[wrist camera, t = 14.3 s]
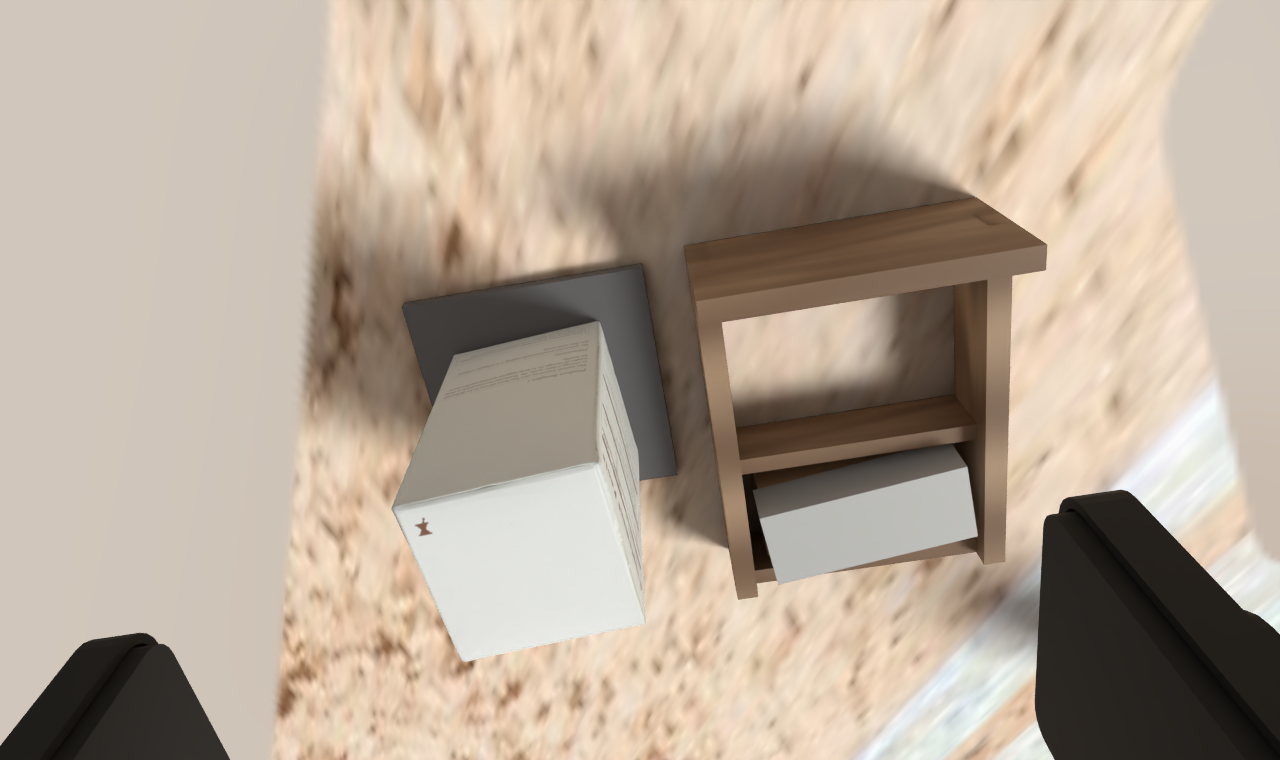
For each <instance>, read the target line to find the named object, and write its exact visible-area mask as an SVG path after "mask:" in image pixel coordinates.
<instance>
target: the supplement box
mask: <svg viewBox="0 0 1280 760" xmlns="http://www.w3.org/2000/svg"><path fill="white" fill-rule="evenodd" d="M392 511H393V513H394V515H395V517H396V519H397V521H398V523H399V525H400V527H401V530H402V532H403V534H404V536H405V538H406V540H407V542H408V544H409V546H410V548H411V550H412V553H413V555H414V557H415V559H416V562H417V564H418V566H419V568H420V570H421V573H422V575H423V577H424V580H425V582H426V584H427V586H428V588H429V590H430V593H431V595H432V597H433V599H434V602H435V604H436V606H437V608H438V611H439V613H440V615H441V617H442V619H443V622H444V624H445V626H446V628H447V630H448V633H449V635H450V637H451V639H452V642H453V644H454V646H455V648H456V650H457V652H458V654H459V656H460V658H461V660H462V661H464V662H466V661H471V660H475V659H480V658H485V657H489V656H494V655H499V654H503V653H508V652H512V651H517V650H522V649H527V648H532V647H537V646H542V645H546V644H551V643H556V642H561V641H566V640H570V639H575V638H580V637H585V636H590V635H595V634H600V633H604V632H609V631H614V630H619V629H624V628H629V627H634V626H639V625H643V624H645V598H644V576H643V558H642V541H641V519H640V489H639V457H638V449H637V446H636V443H635V440H634V436H633V433H632V430H631V426H630V423H629V419H628V416H627V413H626V409H625V406H624V402H623V399H622V395H621V392H620V388H619V385H618V381H617V378H616V375H615V371H614V368H613V364H612V361H611V357H610V354H609V350H608V347H607V343H606V340H605V337H604V333H603V330H602V327H601V324H600V322H599V321H595V322H591V323H587V324H583V325H578V326H573V327H569V328H565V329H561V330H556V331H552V332H548V333H544V334H540V335H536V336H532V337H527V338H523V339H519V340H515V341H511V342H507V343H503V344H498V345H494V346H490V347H486V348H482V349H478V350H474V351H470V352H466V353H461V354H457V355H454V356H453V359H452V361H451V364H450V366H449V369H448V371H447V374H446V376H445V378H444V381H443V383H442V386H441V388H440V391H439V393H438V396H437V398H436V401H435V403H434V405H433V408H432V410H431V413H430V415H429V418H428V420H427V423H426V425H425V427H424V430H423V432H422V435H421V437H420V440H419V442H418V445H417V447H416V450H415V452H414V454H413V457H412V459H411V462H410V465H409V467H408V469H407V471H406V474H405V476H404V479H403V482H402V484H401V486H400V489H399V491H398V493H397V496H396V498H395V501H394V503H393V506H392Z"/></svg>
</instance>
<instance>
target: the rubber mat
mask: <svg viewBox="0 0 1280 760" xmlns="http://www.w3.org/2000/svg"><path fill="white" fill-rule="evenodd" d="M402 309H403V313H404V316H405V319H406V322H407V326H408V329H409V332H410V335H411V339H412V342H413V345H414V348H415V352H416V355H417V358H418V361H419V365H420V368H421V371H422V374H423V378H424V381H425V384H426V387H427V391H428V394H429V397H430V400H431V404H432V407H433V405H434V403H435V401H436V398H437V396H438V393H439V391H440V388H441V386H442V383H443V381H444V378H445V376H446V374H447V371H448V369H449V366H450V364H451V361H452V359H453V356H454V355H457V354H461V353H466V352H470V351H474V350H478V349H482V348H486V347H490V346H494V345H498V344H503V343H507V342H511V341H515V340H519V339H523V338H527V337H532V336H536V335H540V334H544V333H548V332H552V331H556V330H561V329H565V328H569V327H573V326H578V325H583V324H587V323H591V322H595V321H599V322H600V324H601V327H602V330H603V333H604V337H605V340H606V343H607V347H608V350H609V354H610V357H611V361H612V364H613V368H614V371H615V375H616V378H617V381H618V385H619V388H620V392H621V395H622V399H623V402H624V406H625V409H626V413H627V416H628V419H629V423H630V426H631V430H632V433H633V436H634V440H635V443H636V446H637V449H638V457H639V481H641V480H647V479H654V478H660V477H667V476H674V475H678V474H677V466H676V460H675V455H674V449H673V443H672V437H671V431H670V426H669V420H668V414H667V408H666V402H665V397H664V391H663V385H662V379H661V373H660V368H659V362H658V356H657V350H656V344H655V339H654V333H653V327H652V321H651V315H650V310H649V304H648V298H647V292H646V286H645V281H644V275H643V269H642V264H636V265H630V266H624V267H618V268H612V269H606V270H600V271H594V272H588V273H582V274H576V275H570V276H564V277H558V278H551V279H545V280H539V281H533V282H527V283H521V284H515V285H509V286H503V287H497V288H491V289H485V290H479V291H473V292H467V293H461V294H454V295H448V296H442V297H436V298H430V299H424V300H418V301H412V302H406V303H404V305H403V306H402Z"/></svg>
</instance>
